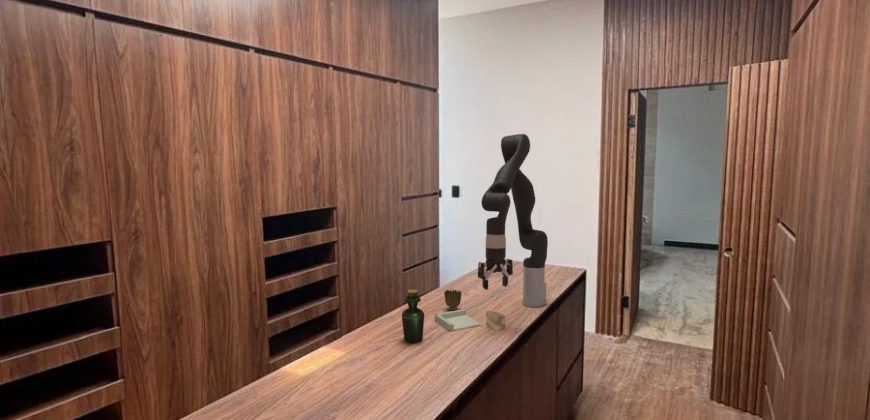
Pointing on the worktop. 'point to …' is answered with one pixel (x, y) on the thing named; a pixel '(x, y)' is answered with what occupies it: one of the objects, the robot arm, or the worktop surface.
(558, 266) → the worktop surface
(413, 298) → the potion bottle
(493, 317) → the maple brick
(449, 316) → the corner tray
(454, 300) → the cup
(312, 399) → the worktop surface
